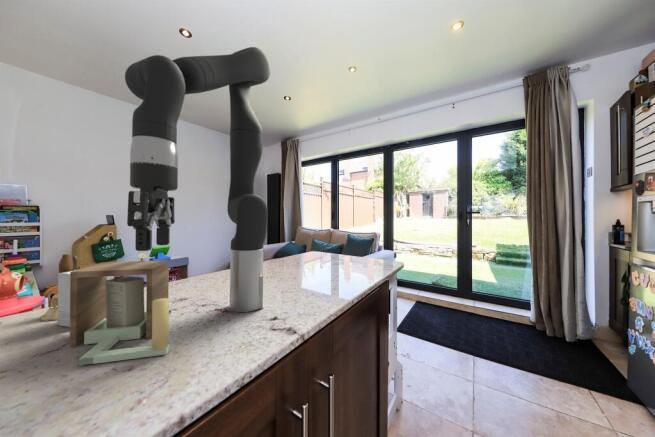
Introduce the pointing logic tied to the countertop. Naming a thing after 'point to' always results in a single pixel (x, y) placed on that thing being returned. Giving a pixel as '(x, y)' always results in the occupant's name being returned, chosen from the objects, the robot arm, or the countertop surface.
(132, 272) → the brown hollow box
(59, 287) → the supplement box
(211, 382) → the countertop surface
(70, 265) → the hand bell
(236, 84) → the robot arm
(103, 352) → the green zigzag lever
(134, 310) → the skincare box
